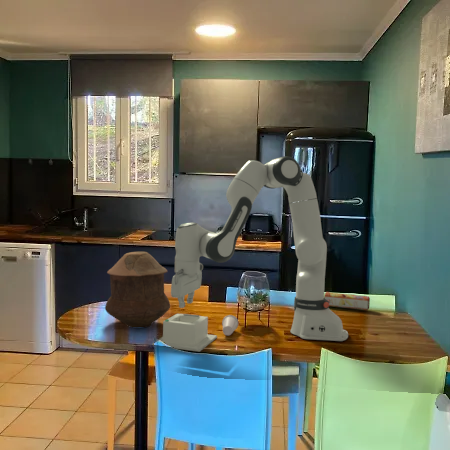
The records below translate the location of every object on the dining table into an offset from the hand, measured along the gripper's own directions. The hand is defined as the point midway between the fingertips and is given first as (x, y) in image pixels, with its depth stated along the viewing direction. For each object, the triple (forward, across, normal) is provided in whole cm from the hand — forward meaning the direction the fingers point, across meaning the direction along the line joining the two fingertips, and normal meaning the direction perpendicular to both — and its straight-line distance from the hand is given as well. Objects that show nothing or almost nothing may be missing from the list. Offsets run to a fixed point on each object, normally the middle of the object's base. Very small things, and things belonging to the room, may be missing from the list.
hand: (185, 305), depth 190 cm
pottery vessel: (+14, +11, +25) cm, 31 cm away
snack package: (+8, +73, -58) cm, 94 cm away
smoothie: (+11, +10, -13) cm, 20 cm away
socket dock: (+13, 0, 0) cm, 13 cm away
